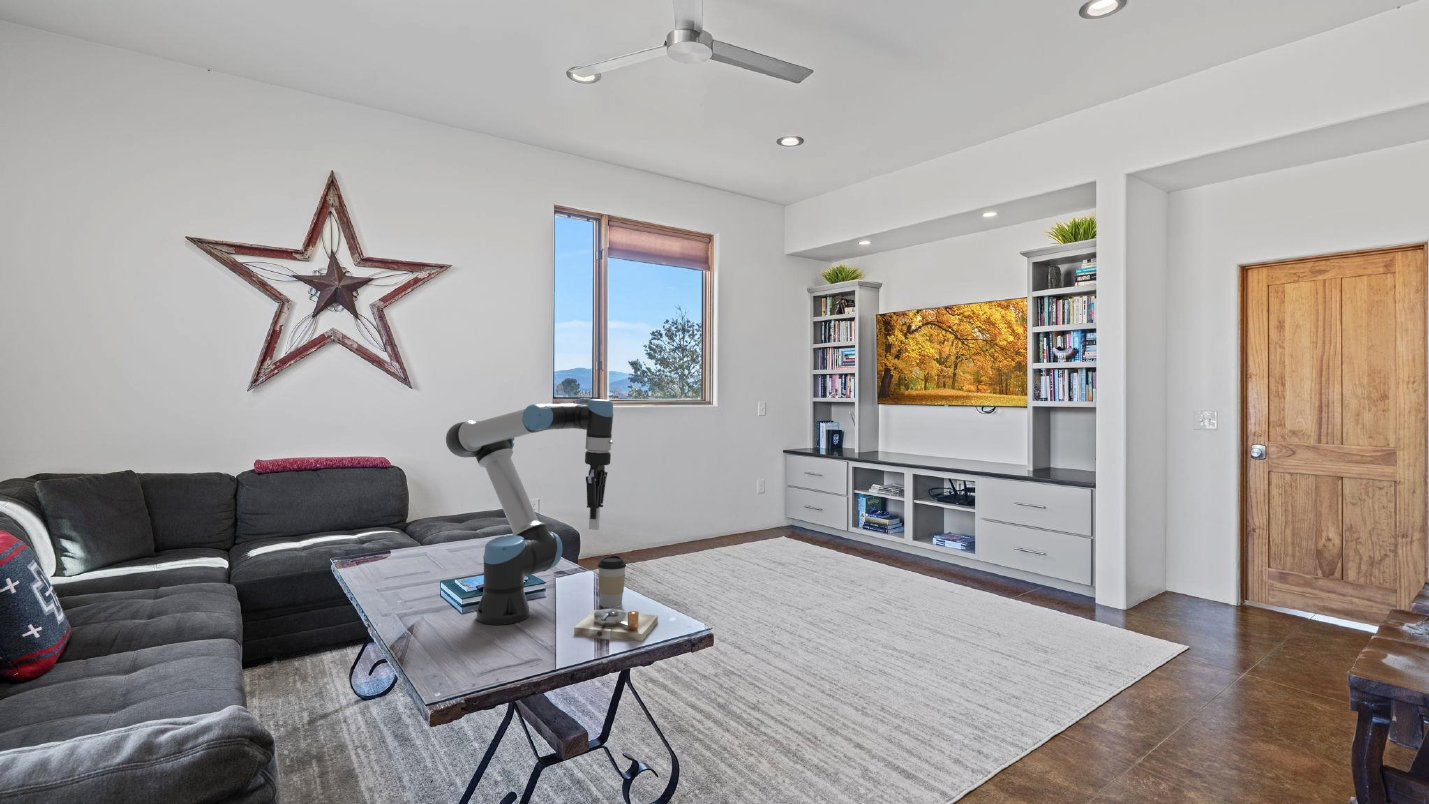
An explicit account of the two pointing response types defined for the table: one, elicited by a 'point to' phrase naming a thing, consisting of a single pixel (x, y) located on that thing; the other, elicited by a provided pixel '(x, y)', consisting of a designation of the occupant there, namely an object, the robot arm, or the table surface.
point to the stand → (616, 628)
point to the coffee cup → (611, 581)
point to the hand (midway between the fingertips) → (593, 529)
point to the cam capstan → (617, 618)
